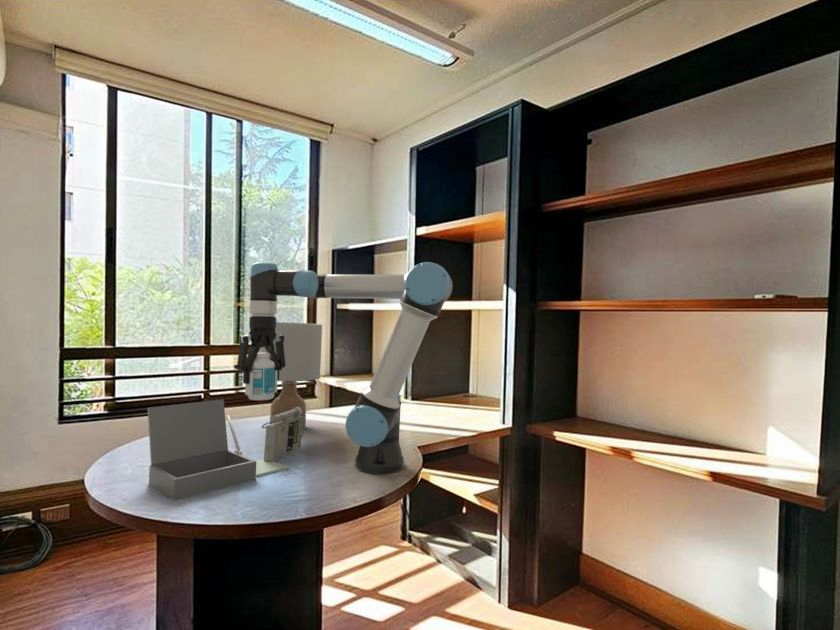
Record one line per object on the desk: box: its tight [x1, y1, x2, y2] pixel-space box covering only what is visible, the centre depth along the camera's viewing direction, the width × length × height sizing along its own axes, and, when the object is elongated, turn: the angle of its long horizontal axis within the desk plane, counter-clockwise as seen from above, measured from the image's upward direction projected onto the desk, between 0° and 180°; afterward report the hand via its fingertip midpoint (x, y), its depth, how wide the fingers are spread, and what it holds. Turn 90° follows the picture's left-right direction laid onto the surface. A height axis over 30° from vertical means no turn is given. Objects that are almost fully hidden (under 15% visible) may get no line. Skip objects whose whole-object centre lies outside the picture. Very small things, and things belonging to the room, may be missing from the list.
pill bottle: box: [247, 352, 275, 401], centre depth 141 cm, size 8×7×14 cm
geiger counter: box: [261, 407, 304, 462], centre depth 159 cm, size 14×6×25 cm
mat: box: [255, 458, 289, 478], centre depth 142 cm, size 11×11×1 cm
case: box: [147, 398, 257, 501], centre depth 131 cm, size 19×23×20 cm
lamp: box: [258, 321, 323, 430], centre depth 192 cm, size 24×24×42 cm
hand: (261, 393), depth 141 cm, fingers closed on pill bottle, 7 cm apart
